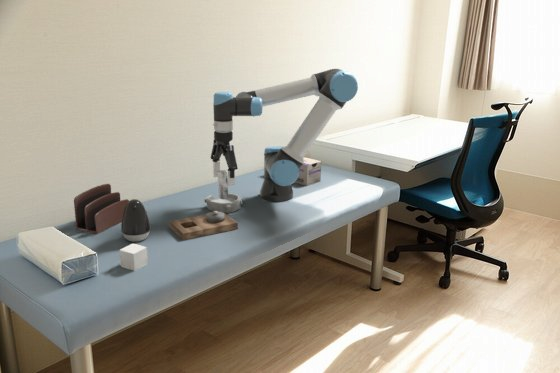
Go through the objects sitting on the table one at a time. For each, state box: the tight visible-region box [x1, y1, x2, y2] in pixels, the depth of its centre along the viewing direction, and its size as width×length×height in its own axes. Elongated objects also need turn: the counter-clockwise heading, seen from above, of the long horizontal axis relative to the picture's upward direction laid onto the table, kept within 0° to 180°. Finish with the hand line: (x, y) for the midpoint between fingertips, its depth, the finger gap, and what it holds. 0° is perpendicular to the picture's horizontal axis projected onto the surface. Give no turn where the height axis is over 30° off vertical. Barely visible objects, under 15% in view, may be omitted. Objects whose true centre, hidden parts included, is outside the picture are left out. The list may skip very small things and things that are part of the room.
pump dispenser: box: [120, 198, 152, 243], centre depth 186 cm, size 10×10×15 cm
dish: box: [203, 192, 243, 214], centre depth 221 cm, size 14×14×5 cm
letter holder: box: [73, 183, 130, 235], centre depth 200 cm, size 10×20×14 cm, turn 157°
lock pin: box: [217, 169, 229, 199], centre depth 218 cm, size 4×4×12 cm
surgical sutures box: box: [294, 156, 322, 187], centre depth 264 cm, size 25×11×11 cm, turn 47°
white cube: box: [119, 242, 149, 272], centre depth 168 cm, size 6×6×6 cm
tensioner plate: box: [168, 211, 239, 241], centre depth 198 cm, size 22×14×6 cm, turn 122°
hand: (223, 180), depth 218 cm, fingers open, 13 cm apart
